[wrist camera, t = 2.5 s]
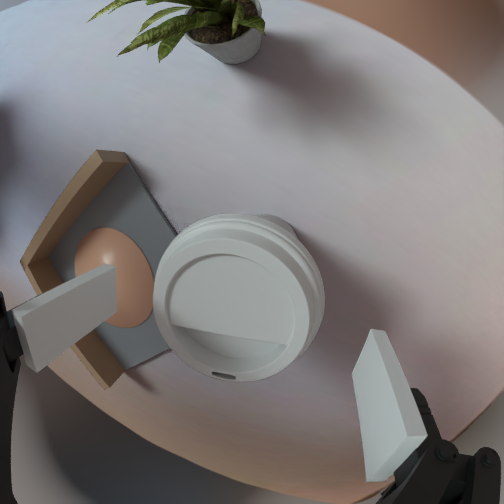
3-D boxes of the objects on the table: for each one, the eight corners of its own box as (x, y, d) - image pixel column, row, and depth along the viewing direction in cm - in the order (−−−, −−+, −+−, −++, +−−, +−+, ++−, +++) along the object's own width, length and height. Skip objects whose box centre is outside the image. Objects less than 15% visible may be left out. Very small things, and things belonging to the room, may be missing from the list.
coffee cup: (203, 265, 29) (123, 336, 15) (244, 181, 26) (177, 182, 12) (284, 309, 29) (266, 415, 14) (332, 229, 26) (368, 285, 11)
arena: (43, 252, 33) (19, 261, 29) (124, 152, 27) (96, 149, 23) (121, 370, 36) (104, 389, 31) (232, 312, 30) (220, 335, 25)
